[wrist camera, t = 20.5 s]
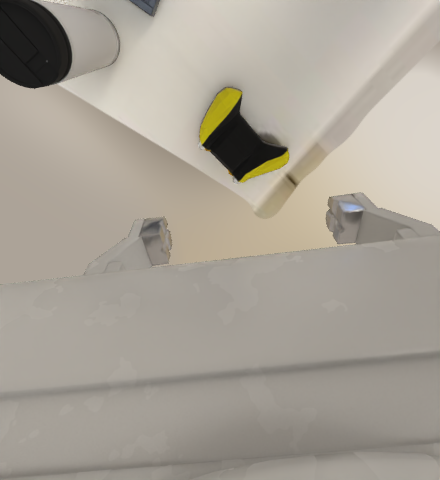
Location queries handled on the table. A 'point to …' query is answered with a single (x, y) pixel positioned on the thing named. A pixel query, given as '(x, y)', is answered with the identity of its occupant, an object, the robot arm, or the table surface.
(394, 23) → the table surface
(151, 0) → the tray
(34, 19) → the travel mug
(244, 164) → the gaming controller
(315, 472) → the robot arm
